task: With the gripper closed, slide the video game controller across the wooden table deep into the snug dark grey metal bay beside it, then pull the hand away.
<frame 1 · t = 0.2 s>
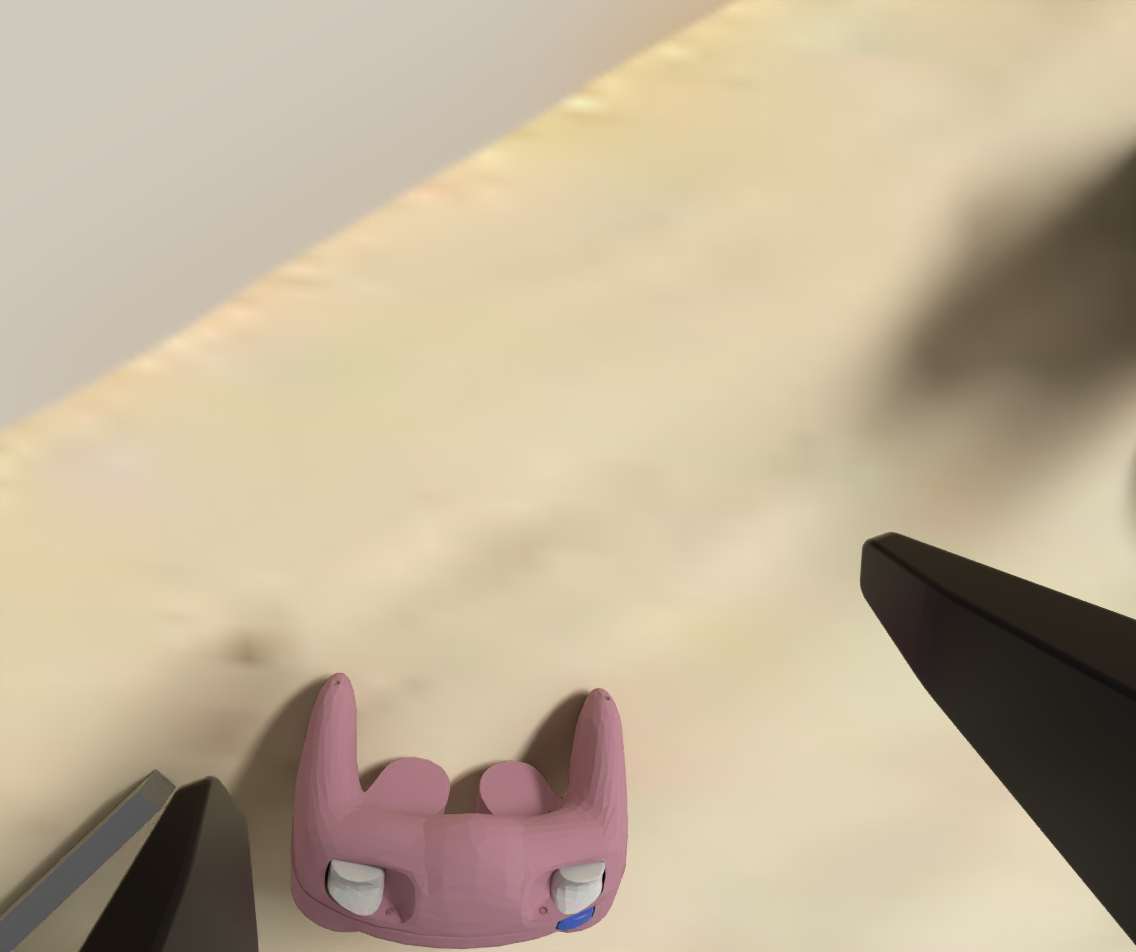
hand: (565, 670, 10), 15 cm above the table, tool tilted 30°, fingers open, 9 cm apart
video game controller: (462, 760, 25), on the table
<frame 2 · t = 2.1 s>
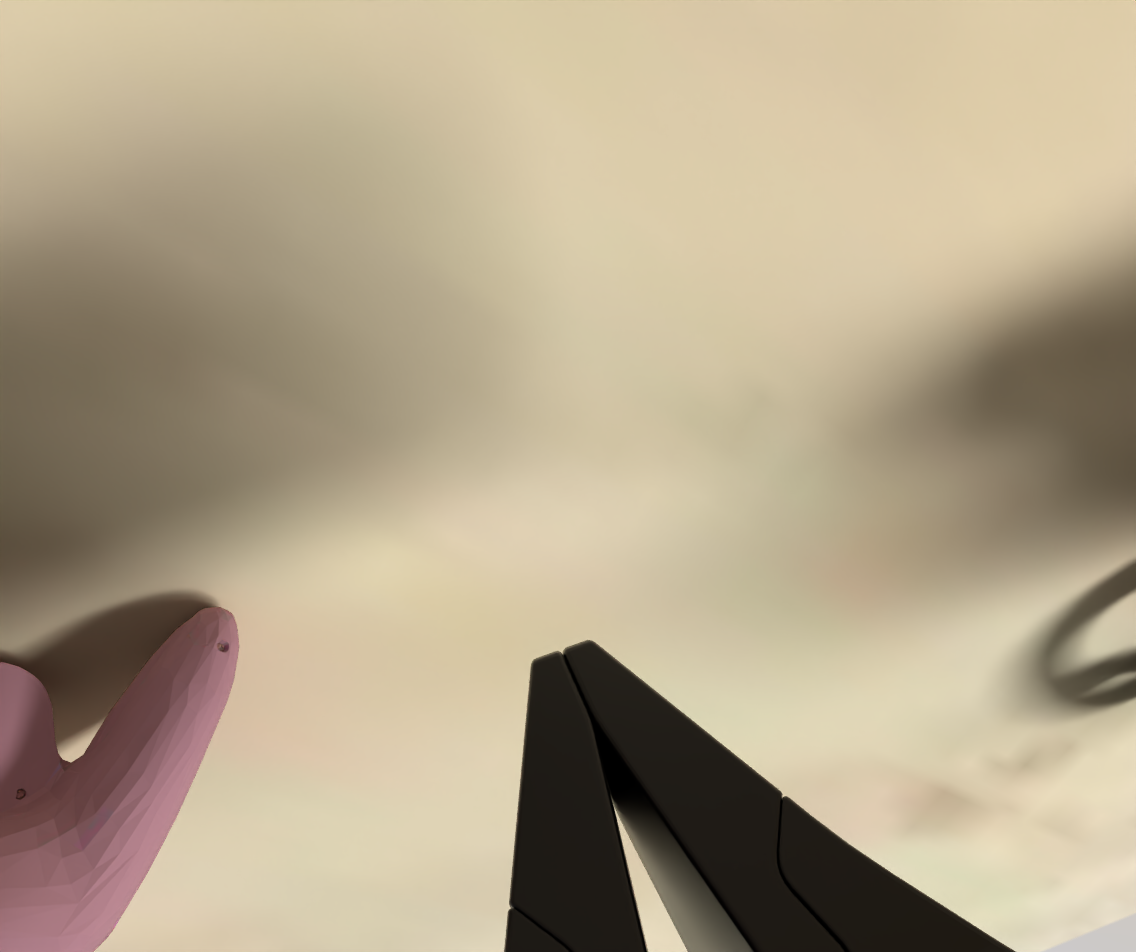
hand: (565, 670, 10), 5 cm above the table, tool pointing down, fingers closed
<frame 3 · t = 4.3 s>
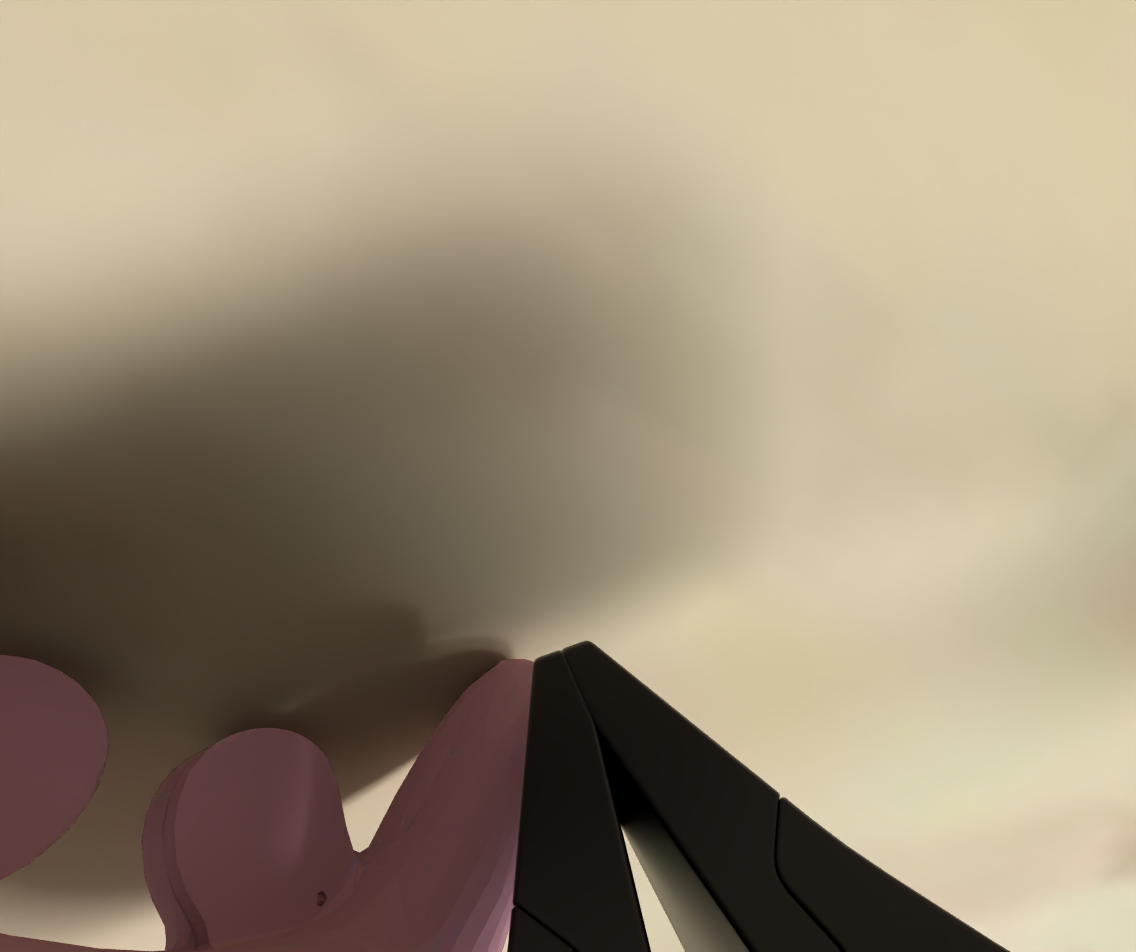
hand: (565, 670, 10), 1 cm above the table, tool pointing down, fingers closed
video game controller: (168, 675, 10), on the table, touching gripper
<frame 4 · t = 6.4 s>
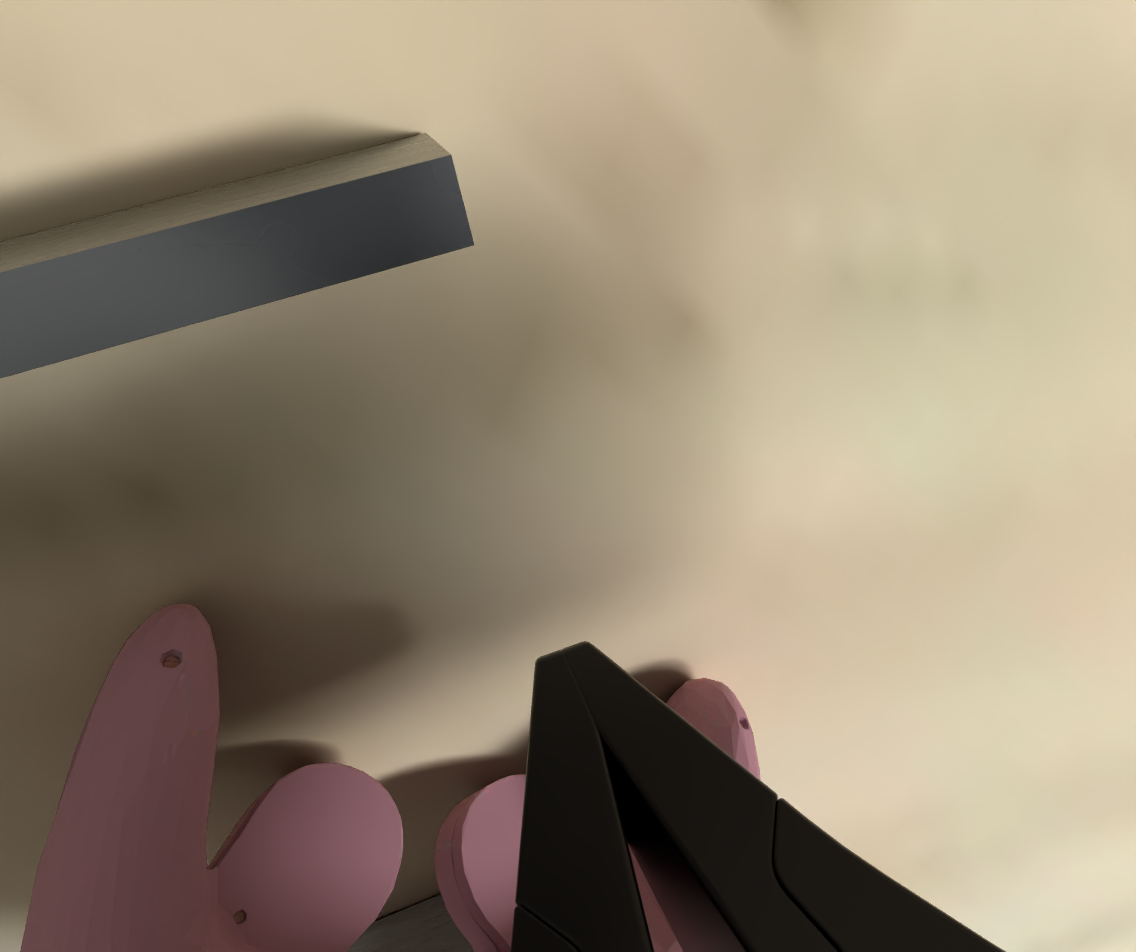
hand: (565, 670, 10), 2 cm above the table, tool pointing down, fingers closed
metal bay: (94, 772, 11), on the table
video game controller: (422, 748, 13), on the table, touching gripper, metal bay
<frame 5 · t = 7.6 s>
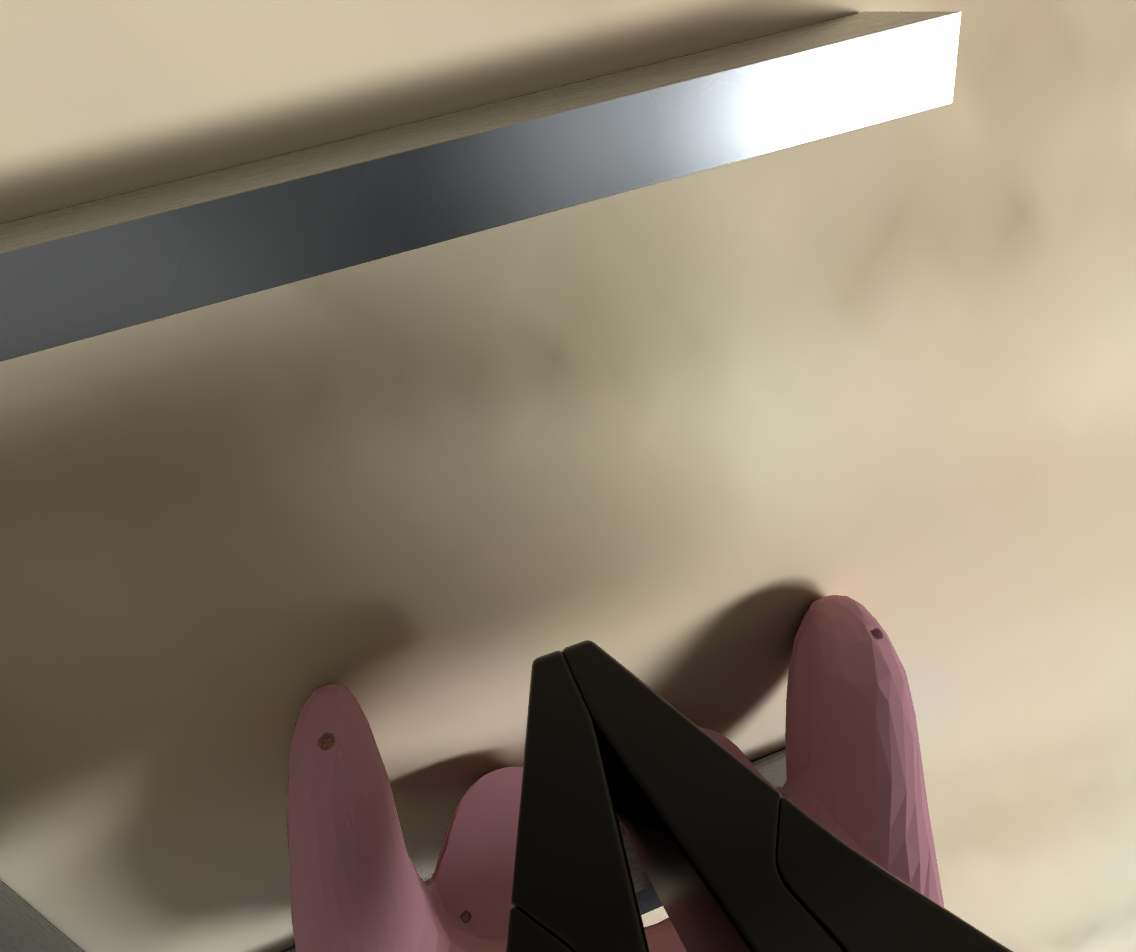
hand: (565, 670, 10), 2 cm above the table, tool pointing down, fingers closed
metal bay: (441, 639, 11), on the table
video game controller: (583, 728, 14), on the table, touching gripper
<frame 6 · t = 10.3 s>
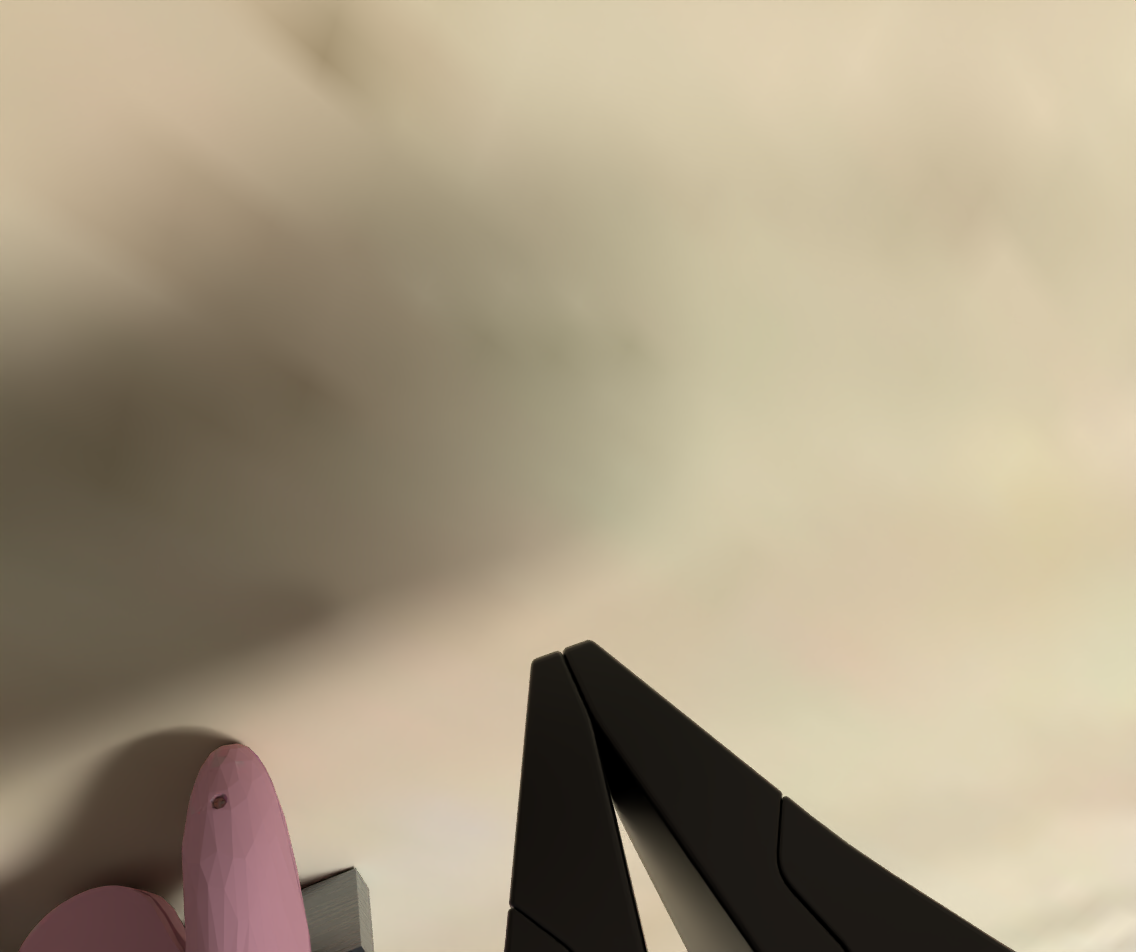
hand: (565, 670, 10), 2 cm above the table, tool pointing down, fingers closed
video game controller: (4, 887, 13), on the table
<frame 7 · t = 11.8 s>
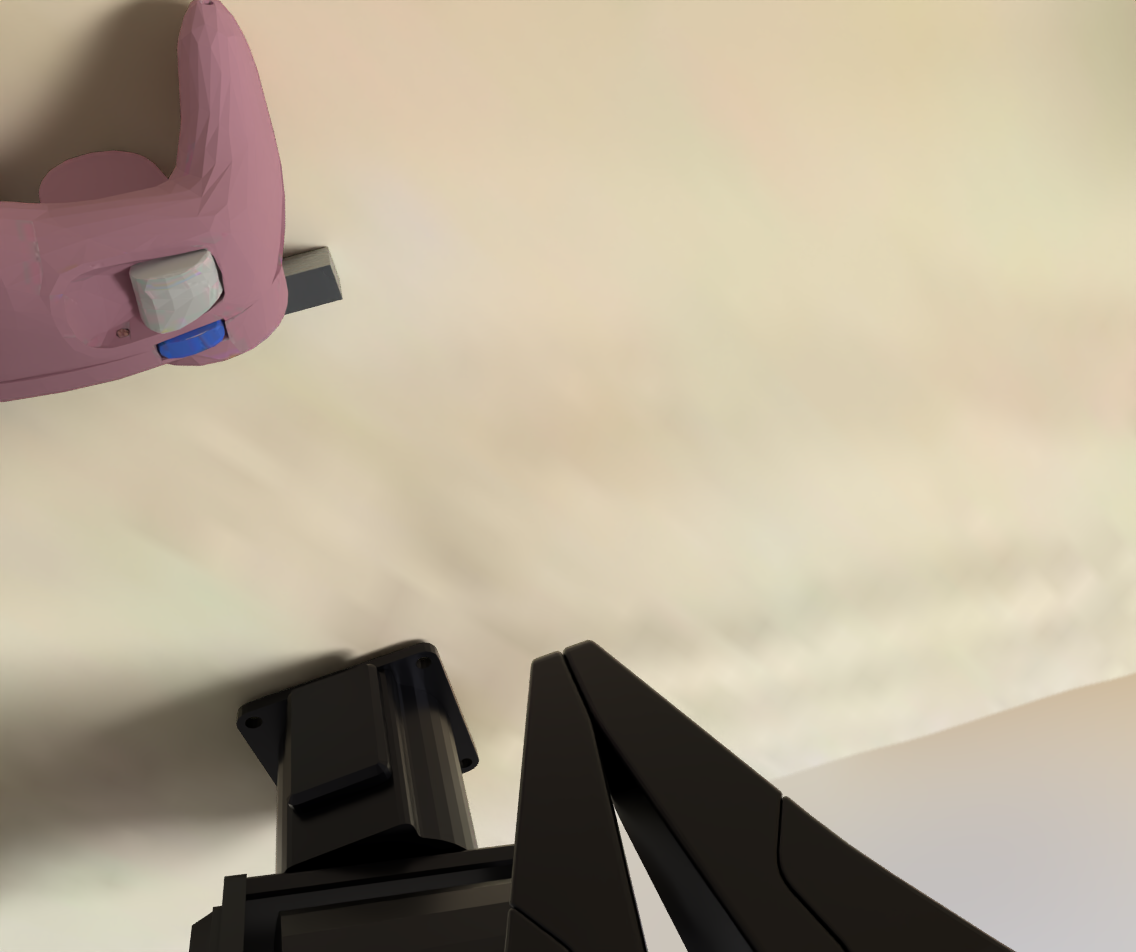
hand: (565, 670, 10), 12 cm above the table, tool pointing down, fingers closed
video game controller: (33, 166, 16), on the table
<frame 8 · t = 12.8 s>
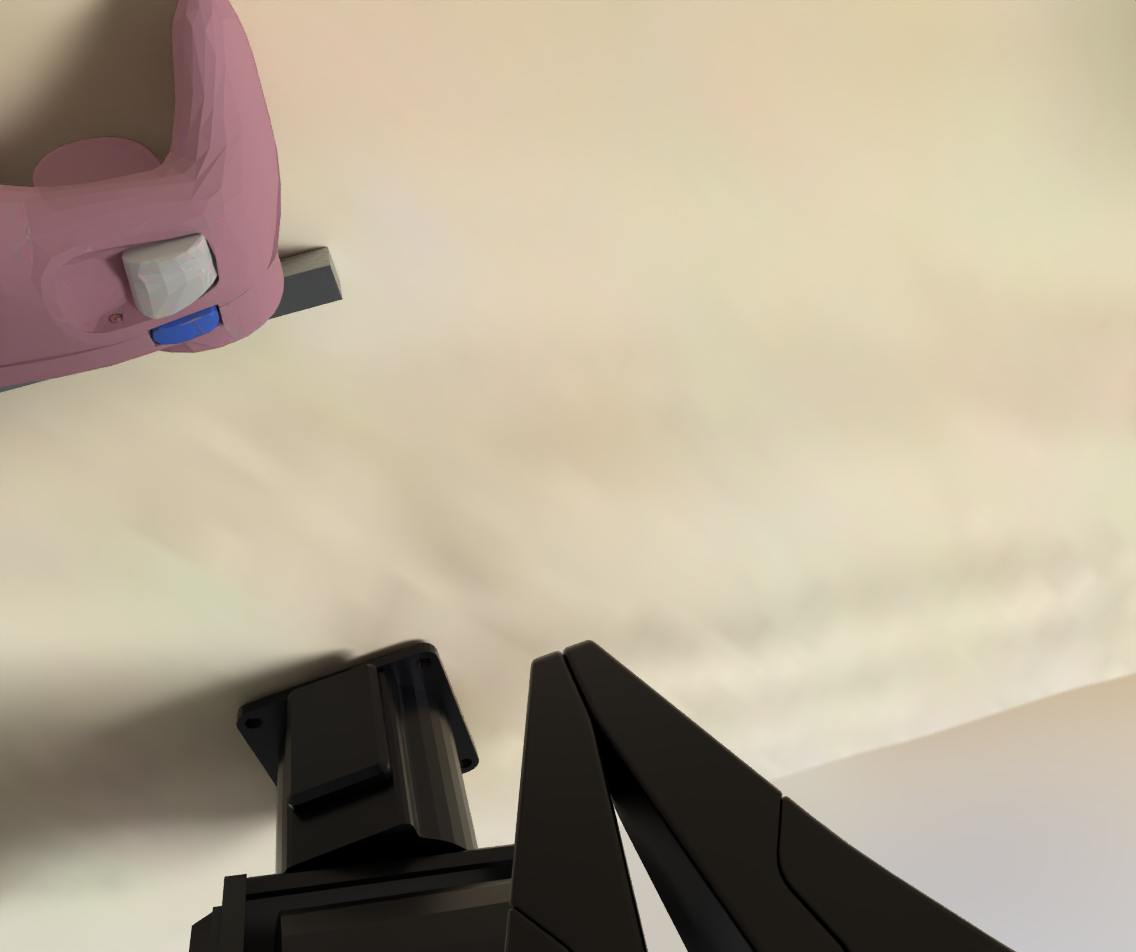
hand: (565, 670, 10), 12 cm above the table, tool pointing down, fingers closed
video game controller: (27, 153, 16), on the table
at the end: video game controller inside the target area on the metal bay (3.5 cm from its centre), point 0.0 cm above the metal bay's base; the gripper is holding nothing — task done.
